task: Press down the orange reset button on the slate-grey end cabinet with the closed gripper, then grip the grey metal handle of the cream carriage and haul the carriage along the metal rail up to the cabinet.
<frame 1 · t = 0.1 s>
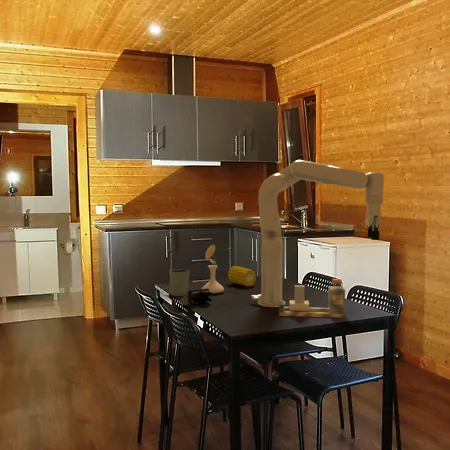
hand: (373, 238, 230), 31 cm above the table, tool pointing down, fingers open, 9 cm apart
reset button: (336, 281, 217), point 15 cm above the table, slide at 0.0 cm
end cap: (199, 304, 237), on the table
food: (241, 285, 283), on the table
rail base: (311, 314, 219), on the table
green tapered cup: (179, 294, 259), on the table
carriage: (299, 297, 219), point 7 cm above the table, slide at 0.0 cm
flower in vase: (212, 293, 262), on the table
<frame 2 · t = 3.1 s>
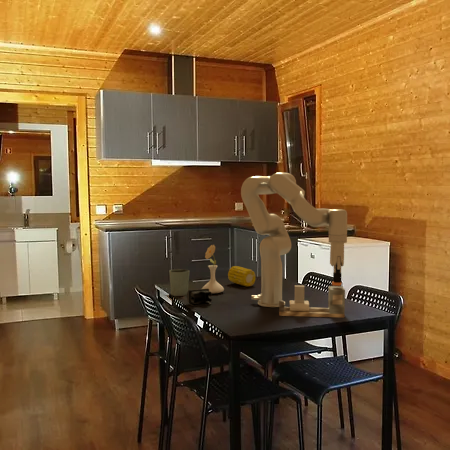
hand: (337, 282, 217), 14 cm above the table, tool pointing down, fingers closed
reset button: (336, 283, 217), point 13 cm above the table, slide at 1.1 cm, touching gripper
everything else where it was.
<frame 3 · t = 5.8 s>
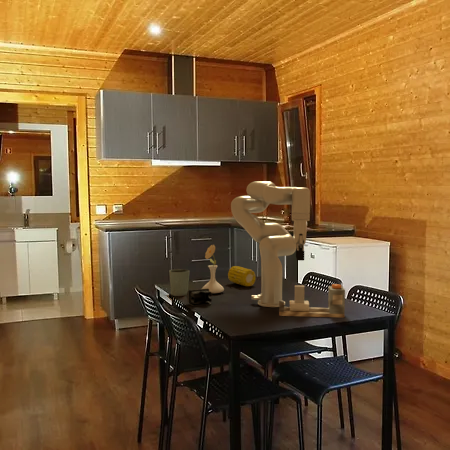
hand: (299, 258, 218), 24 cm above the table, tool pointing down, fingers open, 7 cm apart
reset button: (336, 286, 217), point 12 cm above the table, slide at 2.3 cm
everything else where it was.
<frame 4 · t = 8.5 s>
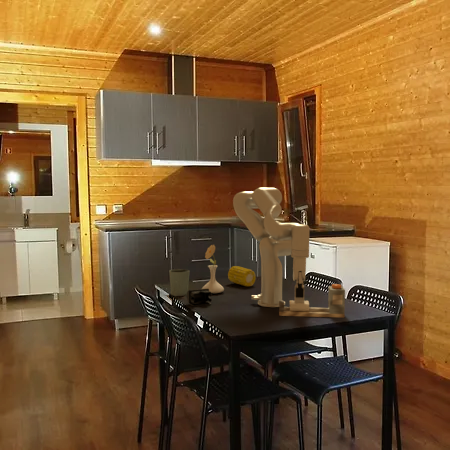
hand: (299, 296, 219), 8 cm above the table, tool pointing down, fingers closed on carriage, 3 cm apart
carriage: (299, 297, 219), point 7 cm above the table, slide at 0.0 cm, touching gripper
everything else where it was.
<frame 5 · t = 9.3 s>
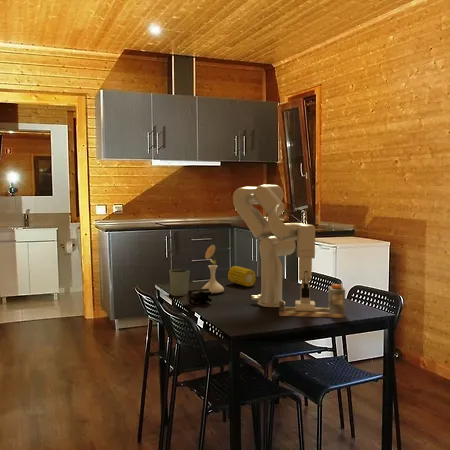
hand: (305, 296, 219), 8 cm above the table, tool pointing down, fingers closed on carriage, 3 cm apart
carriage: (305, 297, 219), point 7 cm above the table, slide at 2.5 cm, touching gripper
everything else where it was.
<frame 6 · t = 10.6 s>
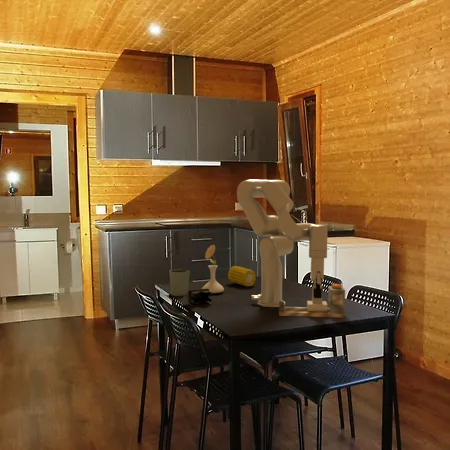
hand: (317, 296, 218), 8 cm above the table, tool pointing down, fingers closed on carriage, 3 cm apart
carriage: (317, 298, 218), point 7 cm above the table, slide at 7.5 cm, touching gripper
everything else where it was.
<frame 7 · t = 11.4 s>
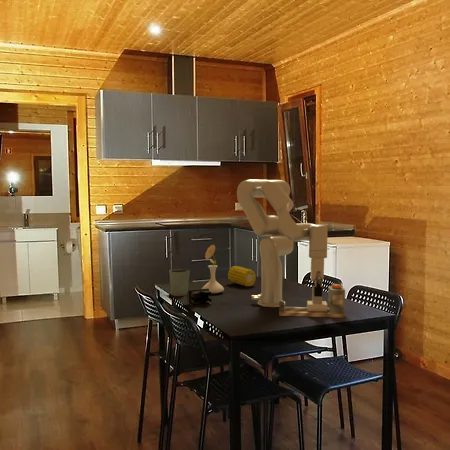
hand: (317, 293, 218), 9 cm above the table, tool pointing down, fingers open, 9 cm apart
carriage: (317, 298, 218), point 7 cm above the table, slide at 7.5 cm
everything else where it was.
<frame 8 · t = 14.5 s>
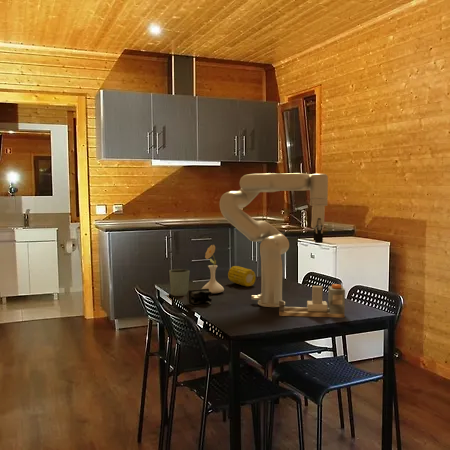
hand: (317, 241, 224), 30 cm above the table, tool pointing down, fingers open, 9 cm apart
nothing on the table moved.
at the end: reset button slide at 2.3 cm; carriage slide at 7.5 cm; the gripper is holding nothing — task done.
